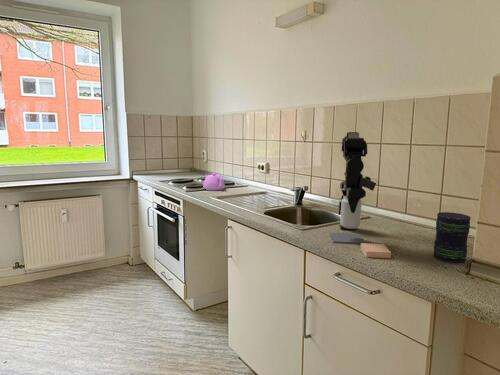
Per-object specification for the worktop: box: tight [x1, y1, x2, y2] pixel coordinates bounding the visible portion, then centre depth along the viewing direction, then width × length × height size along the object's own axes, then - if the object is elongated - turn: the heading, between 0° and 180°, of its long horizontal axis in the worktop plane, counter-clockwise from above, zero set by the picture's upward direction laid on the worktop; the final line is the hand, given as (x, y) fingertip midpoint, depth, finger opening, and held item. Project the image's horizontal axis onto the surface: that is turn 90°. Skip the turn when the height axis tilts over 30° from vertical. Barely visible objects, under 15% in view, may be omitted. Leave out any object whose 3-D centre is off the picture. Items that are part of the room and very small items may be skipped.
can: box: [339, 196, 363, 229], centre depth 137 cm, size 8×8×12 cm
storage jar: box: [432, 211, 471, 265], centre depth 118 cm, size 10×10×15 cm
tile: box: [359, 243, 392, 259], centre depth 124 cm, size 2×8×9 cm
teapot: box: [202, 172, 226, 192], centre depth 255 cm, size 22×16×12 cm
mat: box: [329, 232, 366, 245], centre depth 140 cm, size 12×12×1 cm
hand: (350, 210), depth 137 cm, fingers closed on can, 7 cm apart
